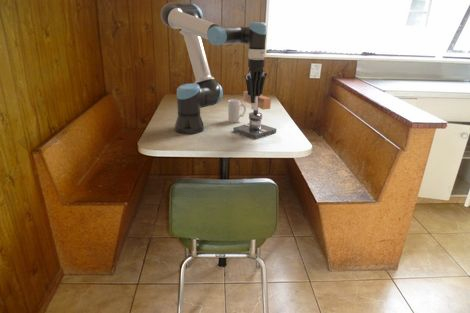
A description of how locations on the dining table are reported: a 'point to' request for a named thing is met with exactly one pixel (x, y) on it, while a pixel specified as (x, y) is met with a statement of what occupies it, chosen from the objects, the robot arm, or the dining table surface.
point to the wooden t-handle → (262, 103)
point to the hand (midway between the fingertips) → (254, 109)
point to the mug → (235, 110)
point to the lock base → (256, 132)
